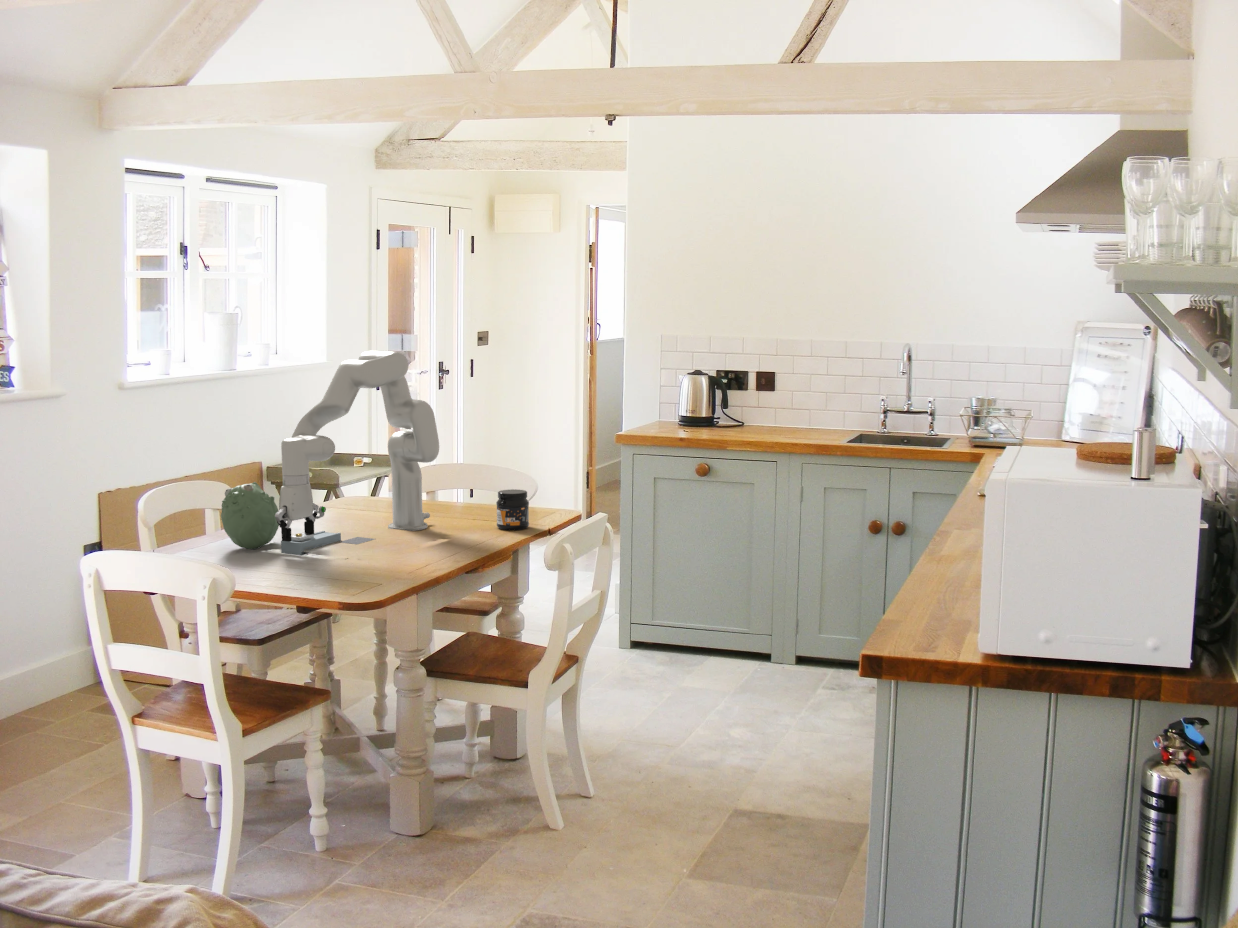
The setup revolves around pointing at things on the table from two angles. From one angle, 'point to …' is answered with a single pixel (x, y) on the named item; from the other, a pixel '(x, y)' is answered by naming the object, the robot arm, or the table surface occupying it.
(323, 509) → the mechanical component
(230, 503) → the green rounded lump
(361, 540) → the flat grey plate
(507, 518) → the supplement container
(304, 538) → the grey small block
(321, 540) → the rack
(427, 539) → the table surface
